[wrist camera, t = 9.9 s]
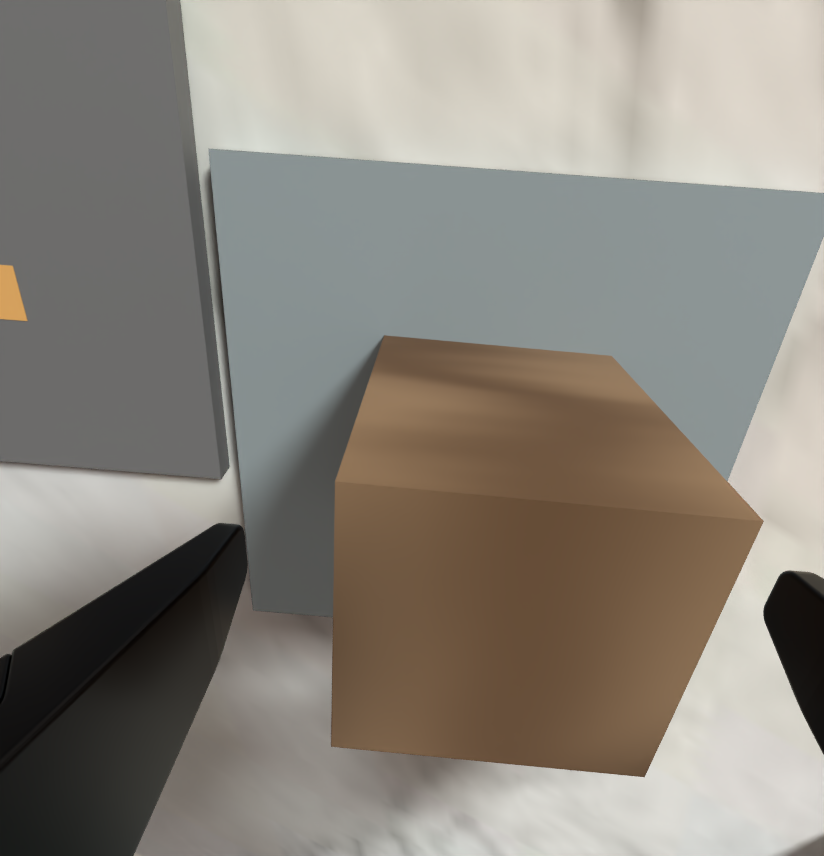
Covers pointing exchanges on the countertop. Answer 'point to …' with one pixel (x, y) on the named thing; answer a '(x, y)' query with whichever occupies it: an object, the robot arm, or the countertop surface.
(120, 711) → the robot arm
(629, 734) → the walnut block
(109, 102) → the code tile
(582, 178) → the slate mat
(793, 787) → the countertop surface
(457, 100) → the countertop surface
